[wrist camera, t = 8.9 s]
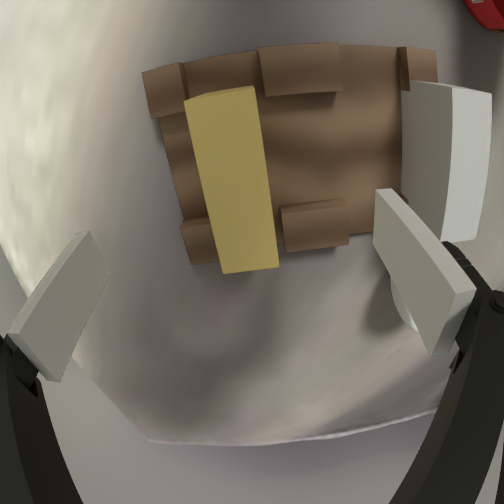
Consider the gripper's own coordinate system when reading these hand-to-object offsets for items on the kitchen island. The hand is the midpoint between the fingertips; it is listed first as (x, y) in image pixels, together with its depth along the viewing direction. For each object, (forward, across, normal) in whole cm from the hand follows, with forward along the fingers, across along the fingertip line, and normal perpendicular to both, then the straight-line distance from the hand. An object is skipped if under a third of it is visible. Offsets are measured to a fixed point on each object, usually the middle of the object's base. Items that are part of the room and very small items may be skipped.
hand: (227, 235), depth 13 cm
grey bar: (+14, +17, -1) cm, 22 cm away
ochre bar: (+14, 0, -1) cm, 14 cm away
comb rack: (+15, +6, -1) cm, 16 cm away
